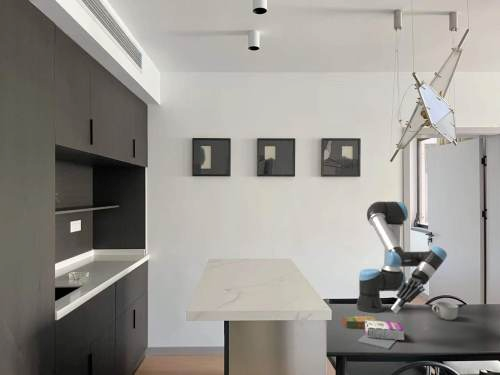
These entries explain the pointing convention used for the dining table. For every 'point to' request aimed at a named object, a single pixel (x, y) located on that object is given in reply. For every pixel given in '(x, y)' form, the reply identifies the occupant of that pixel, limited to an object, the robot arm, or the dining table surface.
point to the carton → (356, 321)
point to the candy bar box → (384, 330)
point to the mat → (377, 341)
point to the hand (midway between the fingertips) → (393, 311)
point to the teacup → (446, 310)
